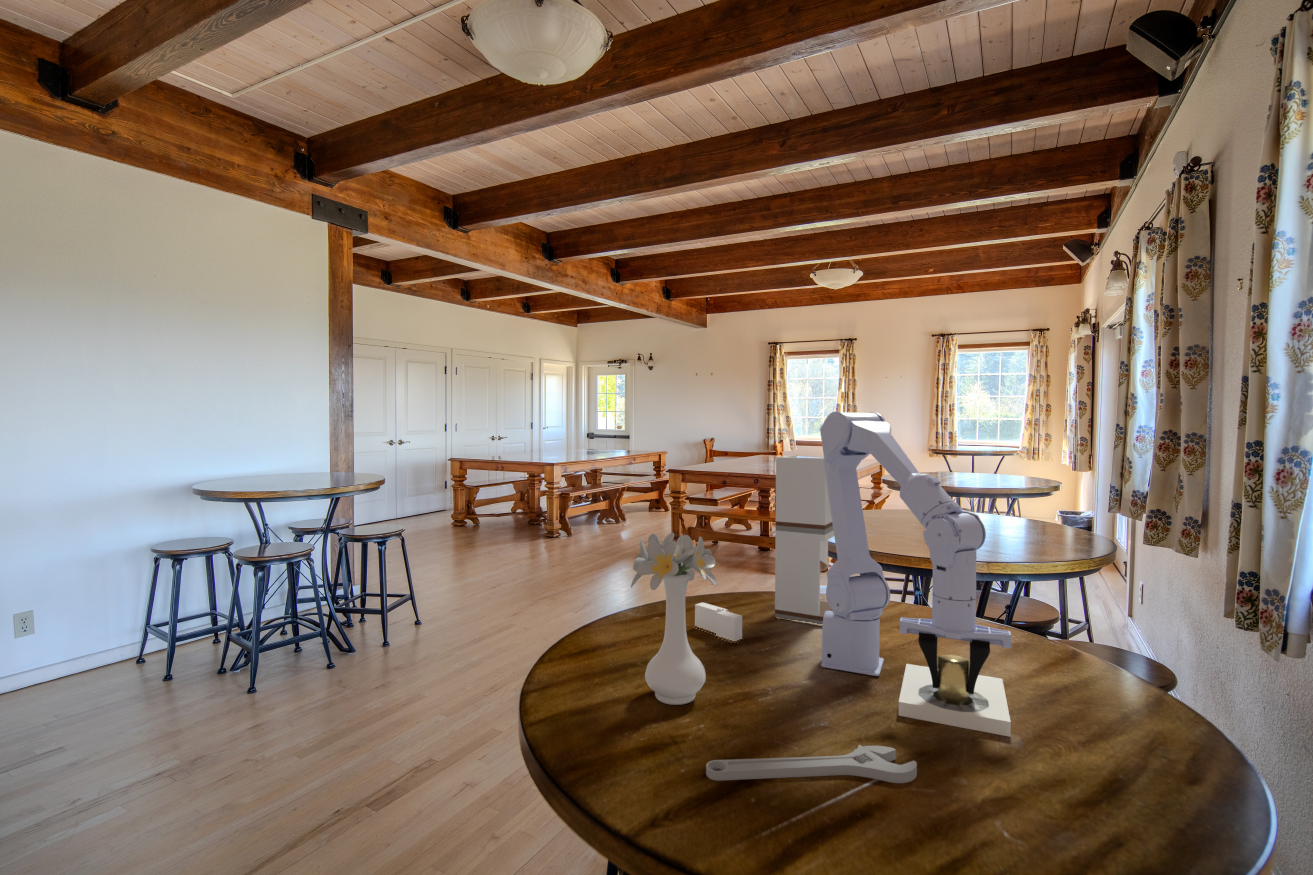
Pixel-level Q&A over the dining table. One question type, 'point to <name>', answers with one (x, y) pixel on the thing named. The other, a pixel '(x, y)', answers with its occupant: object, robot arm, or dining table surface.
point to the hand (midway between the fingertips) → (952, 688)
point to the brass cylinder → (953, 679)
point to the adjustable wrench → (818, 766)
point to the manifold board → (980, 713)
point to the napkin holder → (718, 621)
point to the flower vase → (674, 614)
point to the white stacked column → (801, 538)
